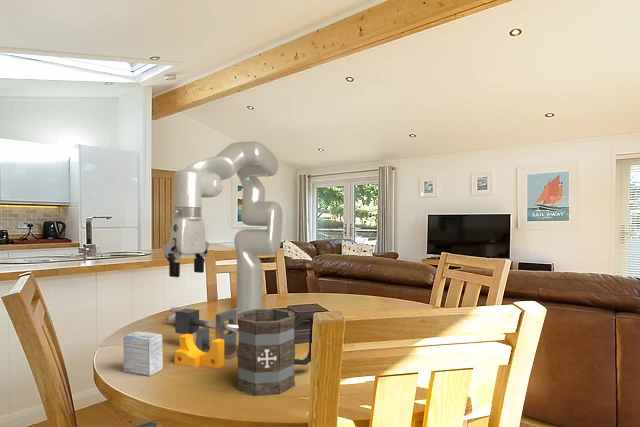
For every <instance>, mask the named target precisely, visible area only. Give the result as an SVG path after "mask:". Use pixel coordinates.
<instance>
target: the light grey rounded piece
mask: <svg viewBox="0 0 640 427" xmlns="http://www.w3.org/2000/svg"><path fill="white" fill-rule="evenodd" d="M185 308H187V309H194V308H193V306H191V305H190V306H180V307H171V308H170V310H169V312H170V313H171V314H169V315H167V323H168V324H169V323H170V324H175V311H178V310H182V309H185Z"/></svg>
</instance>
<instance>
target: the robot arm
mask: <svg viewBox="0 0 640 427" xmlns="http://www.w3.org/2000/svg"><path fill="white" fill-rule="evenodd" d="M278 171H279V161H278V158H277V157H276V155H275V154H274V152H272V151H271V150H270V149H269V148H268V146H266V145H265V144H264V143H262V142H260V141H255V140H254V141H237V142H233V143H230V144H229V145H228V146H226V147H225V148H224V149H222V150H221V151H220V152H219V153H218V154H216V155H215V156H212V157H209V158H206V159H203V160H201V161H198V162H196V163H192V164H191V165H188V166H187V167H186V168H184V169H179V170H176V171H175V172H174V174H173V209H172V212H171V213H172V214H173V218H172V220H171V226H170V232H169V234H170V235H169V241H168V242H167V243H166V244H164V245H163V246H162V248H161V249H162V251H163V253H164V257H165V259H166V261H167V263H169V267H168V270H169V271H168V272H169V274H168V275H169V276H168V277H170V278H180V276H181V275H180V273H181V271H180V270H181V262H179V260H180V259H181V257H182V255H183V256H188V255H189V256H190V255H193V256H194V257H195V258H194V259H193V272H194V273H198V274H199V273H200V274H203V273H204V272H205V259H206V255H207V254H208V250H209V246H210V243H209V242H208V241H206V227H205V221H204V219H203V218H202V203H203V202H202V199H203V198H214V197H218V196H219V195H220V194H221V193H222V192H223V190H224V189H223V188H224V184H223V181H224V180H227V179H230V178H232V177H233V176H234V175H235V174H236V176H237V177H238V178H239V181H240V183H241V186H242V198H241V199H242V201H241V210H240V211H241V213H240V220H241V223H243V225H245V226H250V227H251V226H252V227H267V229H264V228H263V229H262V228H259V229H257V228H246V229H241V230H239V231H238V232H237V233H236V234H235V236H234V239H233V241H234V249H235V255H236V307H235V308H233V309H236V310H237V316H238V313H242V312H246V311H250V310H253V309H267V308H266V307H265V306H263V264H262V261H261V260H260V258H259V257H258V256H259V255H260V256H261V255H263V256H264V255H265V256H273V255H276V254H278V253H279V251H280V250H281V245H282V244H281V243H282V231H283V230H282V229H283V209H282V206H281V204H280V203H279V202H277V201H273V200H272V201H271V200H270V201H269V200H266V198H265V197H266V188H265V187H264V185H263V183H262V181H261V180H260V179H259V178H258V177H262V178H263V177H266V178H267V177H274V176H275V175H276V174H277V173H278Z"/></svg>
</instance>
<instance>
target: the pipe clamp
mask: <svg viewBox="0 0 640 427" xmlns="http://www.w3.org/2000/svg"><path fill="white" fill-rule="evenodd" d="M193 336H194V335H193V334H181V335H179V348H178V349H176V350H174V353H173V354H174V361H173V362H174V364H177V365H180V366H186V367H192V368H196V367H198V366H202V367H203V366H204V367H207V368H214V369H219V368H222V367H224V366H225V358H224V339H216V338H215V339H214V340H212V341H210V346H209V348H208V349H209V351H208V352H207V353H206V351H200V350H199V349H198V348H197V347H196V342H195V341H194V337H193Z"/></svg>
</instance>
